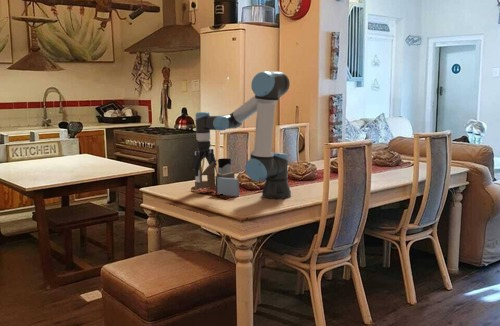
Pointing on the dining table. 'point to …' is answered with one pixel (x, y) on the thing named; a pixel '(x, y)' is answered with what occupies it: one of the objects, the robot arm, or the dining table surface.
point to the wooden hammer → (210, 176)
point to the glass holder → (224, 166)
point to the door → (228, 186)
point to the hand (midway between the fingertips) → (204, 180)
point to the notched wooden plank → (227, 175)
